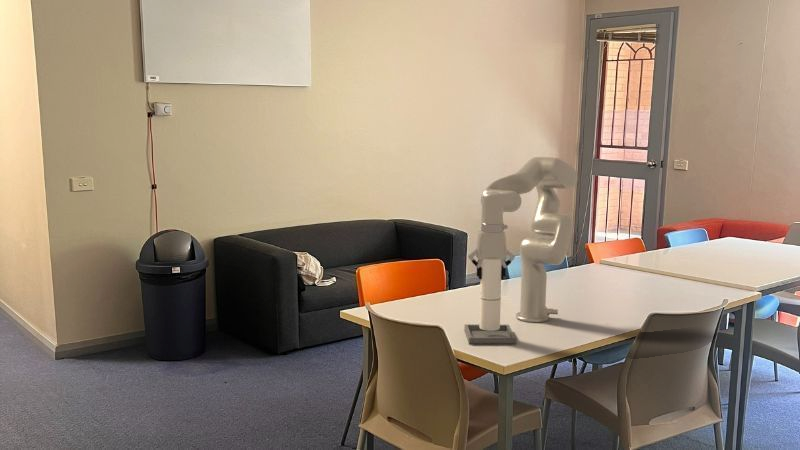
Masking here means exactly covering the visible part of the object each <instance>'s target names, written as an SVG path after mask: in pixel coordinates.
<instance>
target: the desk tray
mask: <svg viewBox="0 0 800 450" xmlns="http://www.w3.org/2000/svg"><path fill="white" fill-rule="evenodd" d="M464 334H465V336H466V339H467V341H468V342H467V343H468V345H474V346H475V345H489V346H490V345H496V346H497V345H498V346H499V345H503V346H504V345H505V346H506V345H508V346H509V345H510V346H511V345H512V346H513V345H517V337H516V335H515V334H514V331H513V330H512V328H511V326H510V325H509V324H500V329H499V330H494V331H488V330H482V329H480V328H479V324H469V323H468V324H464Z"/></svg>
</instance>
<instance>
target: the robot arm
mask: <svg viewBox="0 0 800 450" xmlns="http://www.w3.org/2000/svg"><path fill="white" fill-rule="evenodd" d="M578 178H579V177H578V171H576V169H575V167H573V166H572V165H571V164H569V163H568V162H567V161H565V160H563V159H560V158H557V157H546V156H536V157H532V158H530V159H529V160H528V161H526V163H525V164H524V165H522V167H520V169H518V171H516V172H515V173H512V174H509V175H507V176H504V177H501V178H498V179H497V180H494V181H493V182H492V183H490V184H489V185H488V186H487V187H486V188H485V189H484V190H483V192H482V194H481V196H480V204H481V222H480V223H481V226H480V229H481V230H480V231H478V235H477V241H476V248H475V250H473V251H472V252H471V253H469V254H468V255H467V258H468V259H469V260H470V261H471V263H472V264H473V265H474V266H475V267H476V277H478V280H481V272H482V268H481V264H482V261H483V260H484V259H501V263H502V270H501V280H504V279H505V278H504V277H506V270H507V268H508V266H509V265H510V264H511V263H512V262H513V261H514V260H515V258H516V256H515V255H514V254H513V253H512V252H511V251H509V250H508V249H507V237H506V232H505V230H507V229H508V226H509V225H507V224H505V223H504V218H505V217H504V214H505V213H513V212H516V211H518V210H519V209H520V207H521V206H522V197H521V195H523V194H527V193H530V192H531V191H533V190H534V189H535V188H536V191H537V192H536V194H537V202H536V206H535V207H536V208H535V209H534V210H535V211H534V214H533V217H532V220H531V225H530V230H531V232H532V233H533V234H534V235H536V236H528V237H526V238H524V239H522V241H521V242H520V244H519V256H520V261H521V262H520V263H521V275H520V276H521V277H520V278H521V279H520V280H521V281H520V304H519V305H520V309H519V310H520V311H518V312H517V313H516V314H515V318H517V320H520V321H522V322H528V323H544V322H547V321H549V320H550V315H558V314H559V310H558V309H557V308H556V309H554V308H548V307H547V306H546V302H547V301H546V300H547V281H548V280H547V279H548V277H547V275H548V274H547V271H546V267H545V266H544V265H551V266H560V265H561V264H563V262H564V261H565V258H566V255H567V252H568V249H569V245H570V241H571V238H572V236H573V231H574V221H573V218H572V217H571V216H570V215H569V214H567V213H561V212H559V210H560V206H561V202H560V201H561V200H560V199H559V196H558V194H557V193H556V191H555V189H559V190H571V189H573V188H575V187H576V185H577V183H578ZM538 236H540V237H538ZM545 237H546V238H545ZM551 238H552V239H551ZM553 238H554V239H553ZM475 256H476V258H477V260H476V259H475V258H474V257H475ZM507 256H508V257H507ZM507 258H508V259H507ZM543 264H544V265H543Z"/></svg>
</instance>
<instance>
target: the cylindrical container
mask: <svg viewBox="0 0 800 450" xmlns="http://www.w3.org/2000/svg"><path fill="white" fill-rule="evenodd" d="M481 268H482V272H481V279H480V287H479V289H480V290H479V291H480V292H479V323H478V325H479V328H480V329H482V330H488V331H494V330H499V329H500V325H501V305H502V304H501V301H502V300H501V299H502V297H501V296H502V279H501V270H502V263H501V259H484V260H483V261H482V264H481Z"/></svg>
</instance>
